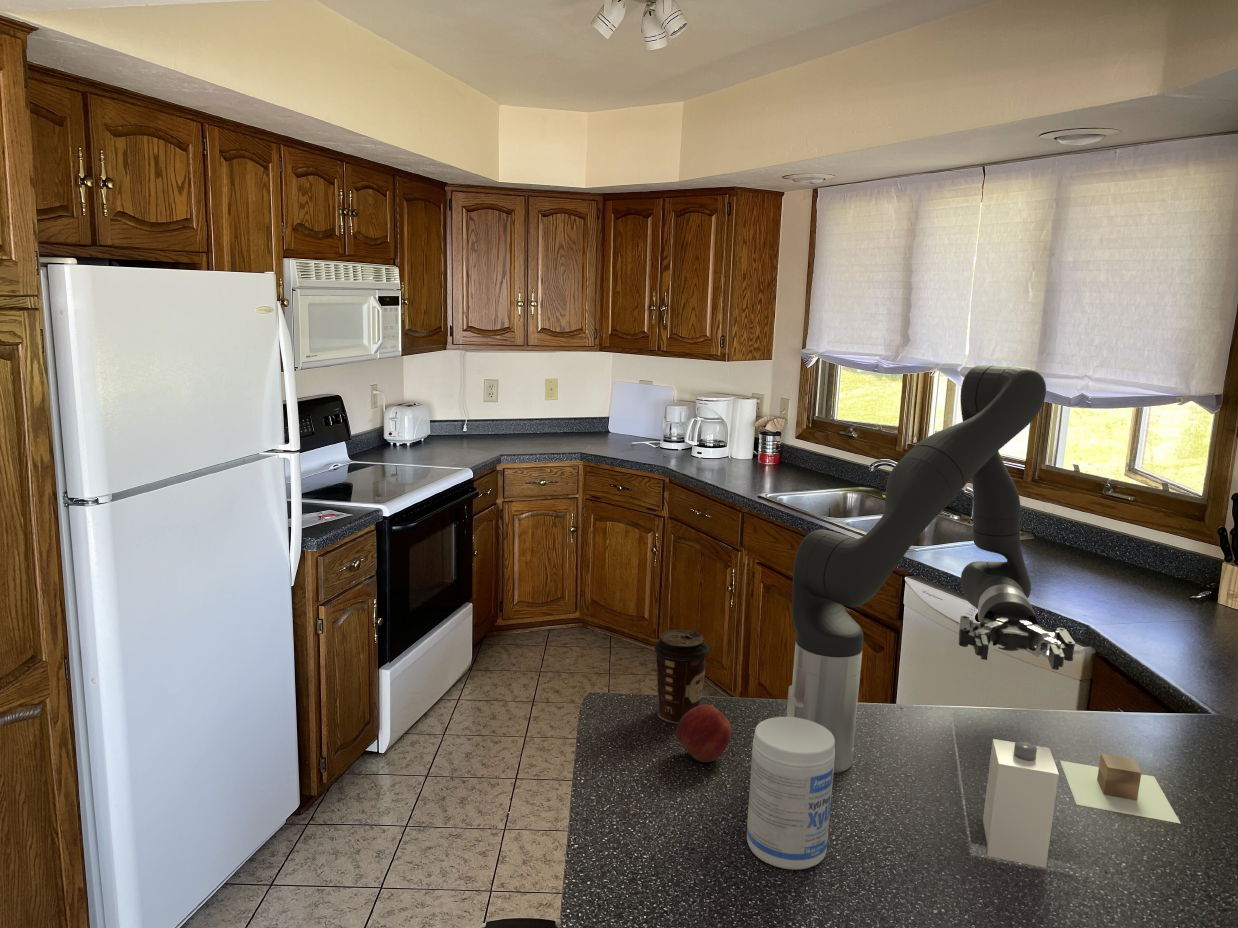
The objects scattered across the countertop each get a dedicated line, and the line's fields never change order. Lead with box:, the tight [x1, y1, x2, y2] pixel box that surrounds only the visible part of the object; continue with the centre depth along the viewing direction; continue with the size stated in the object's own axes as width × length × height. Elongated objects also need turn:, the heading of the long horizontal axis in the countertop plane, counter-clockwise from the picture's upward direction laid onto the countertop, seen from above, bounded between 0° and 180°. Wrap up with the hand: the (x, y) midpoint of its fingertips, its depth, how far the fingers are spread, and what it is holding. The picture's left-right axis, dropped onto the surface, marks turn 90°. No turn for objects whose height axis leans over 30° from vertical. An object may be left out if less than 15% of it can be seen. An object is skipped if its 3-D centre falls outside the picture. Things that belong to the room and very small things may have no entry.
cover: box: [982, 738, 1060, 869], centre depth 104 cm, size 6×6×13 cm
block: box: [1097, 752, 1142, 801], centre depth 117 cm, size 4×4×4 cm
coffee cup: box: [653, 629, 711, 725], centre depth 135 cm, size 9×8×13 cm
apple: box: [675, 703, 732, 763], centre depth 123 cm, size 7×8×8 cm
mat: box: [1059, 760, 1181, 824], centre depth 117 cm, size 12×12×1 cm
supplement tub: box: [746, 716, 835, 870], centre depth 102 cm, size 10×10×15 cm
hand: (1020, 657), depth 112 cm, fingers open, 8 cm apart
